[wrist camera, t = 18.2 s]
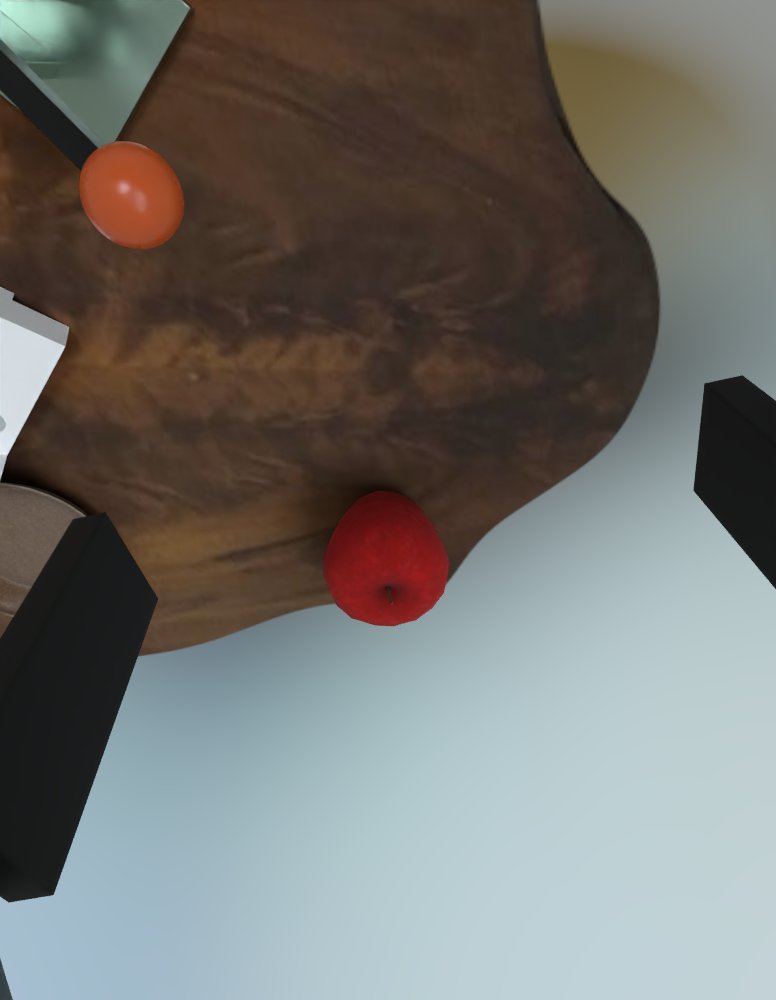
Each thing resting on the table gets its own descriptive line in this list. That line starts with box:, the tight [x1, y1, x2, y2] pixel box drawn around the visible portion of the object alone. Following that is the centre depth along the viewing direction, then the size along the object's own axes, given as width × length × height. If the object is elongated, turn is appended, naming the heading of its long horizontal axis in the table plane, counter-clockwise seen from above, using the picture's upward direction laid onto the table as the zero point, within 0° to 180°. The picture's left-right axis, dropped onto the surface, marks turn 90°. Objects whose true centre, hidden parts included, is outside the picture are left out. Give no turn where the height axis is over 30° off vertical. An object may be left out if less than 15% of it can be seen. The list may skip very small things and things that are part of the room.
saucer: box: [0, 482, 89, 617], centre depth 50 cm, size 15×15×3 cm
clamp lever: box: [0, 39, 184, 249], centre depth 22 cm, size 14×4×4 cm, turn 48°
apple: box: [324, 491, 449, 626], centre depth 48 cm, size 10×10×11 cm
